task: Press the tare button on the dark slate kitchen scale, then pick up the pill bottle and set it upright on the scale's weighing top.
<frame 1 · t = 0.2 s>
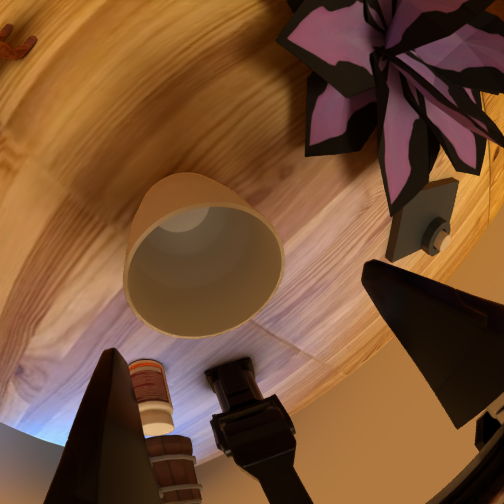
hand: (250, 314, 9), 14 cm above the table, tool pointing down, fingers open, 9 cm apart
mug: (155, 442, 43), on the table
tare button: (441, 240, 33), point 3 cm above the table, slide at 0.1 cm
cup: (179, 202, 21), on the table
pill bottle: (145, 368, 30), on the table
bowl: (487, 19, 17), on the table
decorative flower: (388, 44, 18), on the table
scale: (422, 214, 33), on the table
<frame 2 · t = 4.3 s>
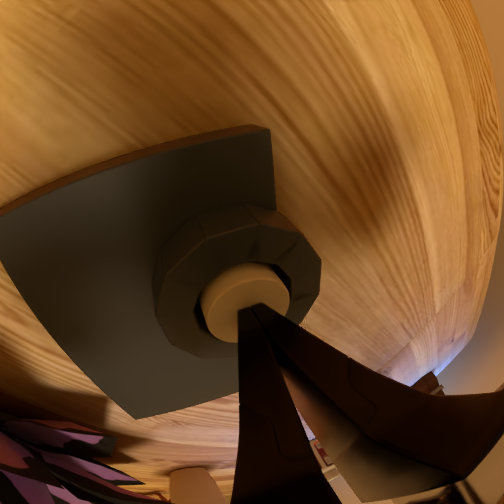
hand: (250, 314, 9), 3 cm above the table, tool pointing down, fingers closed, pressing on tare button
mug: (406, 394, 50), on the table
tare button: (242, 298, 9), point 3 cm above the table, slide at -0.6 cm, touching gripper
cup: (186, 470, 28), on the table
pill bottle: (308, 442, 38), on the table
scale: (166, 311, 12), on the table
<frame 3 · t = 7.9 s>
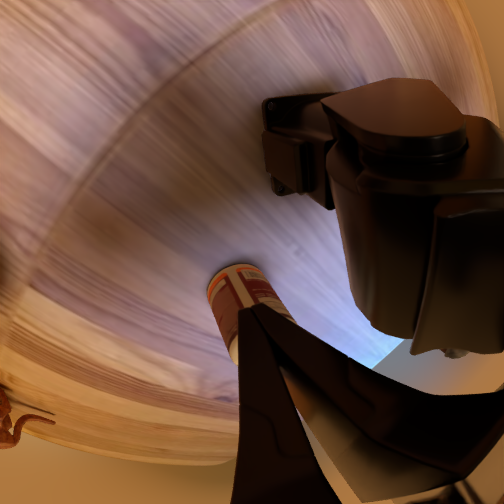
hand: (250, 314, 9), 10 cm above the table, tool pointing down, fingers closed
pill bottle: (235, 286, 22), on the table
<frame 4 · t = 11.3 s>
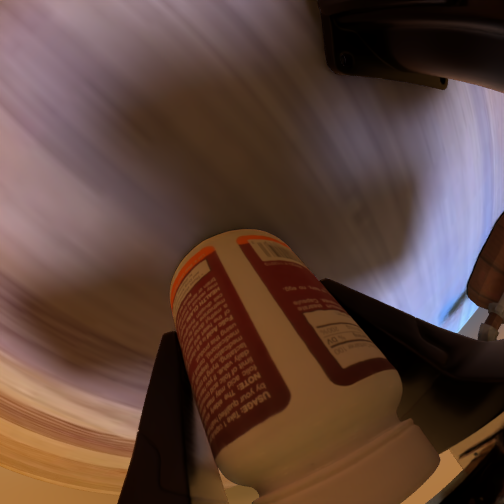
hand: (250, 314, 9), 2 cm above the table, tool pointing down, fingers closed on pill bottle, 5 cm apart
mug: (483, 264, 22), on the table
pill bottle: (232, 281, 10), on the table, touching gripper
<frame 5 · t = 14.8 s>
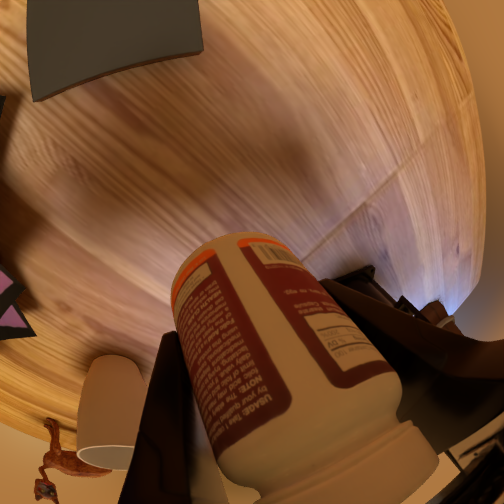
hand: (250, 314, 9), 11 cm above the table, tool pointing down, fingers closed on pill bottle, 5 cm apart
mug: (411, 331, 45), on the table
orange animal figurine: (85, 432, 29), on the table
cup: (114, 367, 23), on the table
pill bottle: (233, 283, 10), point 9 cm above the table, touching gripper
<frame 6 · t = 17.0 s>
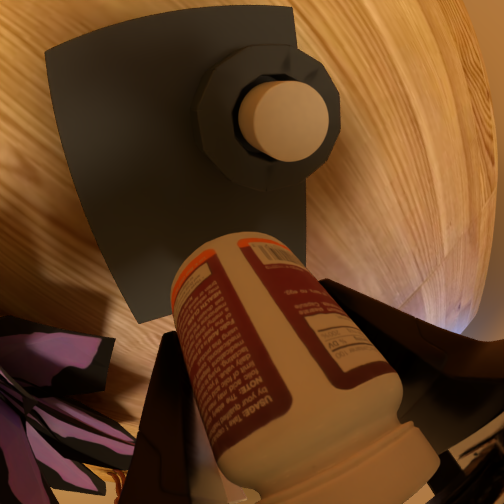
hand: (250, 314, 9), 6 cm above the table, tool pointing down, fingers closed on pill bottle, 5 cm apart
tare button: (283, 119, 9), point 3 cm above the table, slide at 0.1 cm
orange animal figurine: (144, 473, 34), on the table
cup: (189, 438, 28), on the table
pill bottle: (233, 283, 10), point 5 cm above the table, touching gripper
scale: (191, 165, 12), on the table
when the fingers open (3 cm above the table, at t = 18.5 s): pill bottle stays where it is, resting on scale.
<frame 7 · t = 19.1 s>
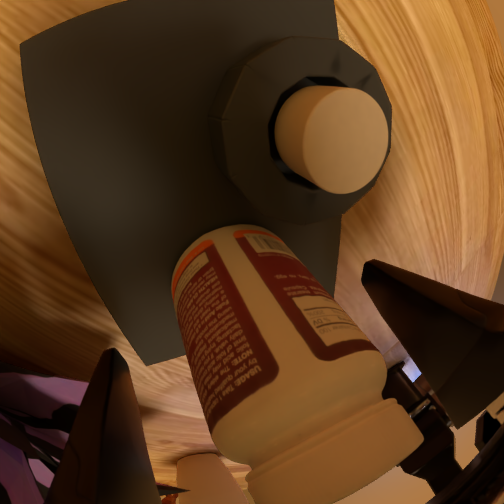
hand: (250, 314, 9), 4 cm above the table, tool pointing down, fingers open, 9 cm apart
mug: (422, 377, 48), on the table
tare button: (333, 136, 7), point 3 cm above the table, slide at 0.1 cm
orange animal figurine: (149, 486, 31), on the table
cup: (196, 457, 26), on the table
pill bottle: (230, 274, 11), point 1 cm above the table, touching scale
scale: (207, 187, 10), on the table
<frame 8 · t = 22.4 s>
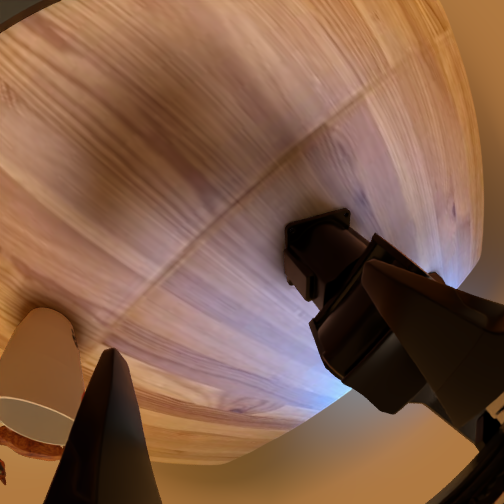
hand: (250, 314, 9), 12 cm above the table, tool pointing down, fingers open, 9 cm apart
orange animal figurine: (42, 411, 25), on the table
cup: (49, 326, 19), on the table
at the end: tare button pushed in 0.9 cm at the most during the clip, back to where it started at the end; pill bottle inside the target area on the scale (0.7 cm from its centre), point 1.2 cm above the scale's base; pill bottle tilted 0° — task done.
